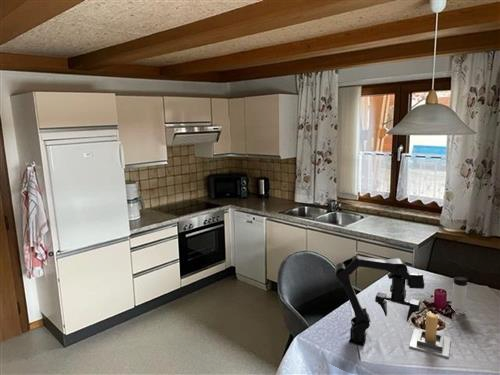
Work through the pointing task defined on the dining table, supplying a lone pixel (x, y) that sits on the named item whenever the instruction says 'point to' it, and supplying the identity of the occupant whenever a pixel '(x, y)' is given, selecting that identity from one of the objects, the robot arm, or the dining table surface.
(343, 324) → the dining table surface
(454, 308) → the travel mug
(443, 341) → the socket
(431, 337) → the rounded tan peg
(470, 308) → the dining table surface
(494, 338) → the dining table surface
